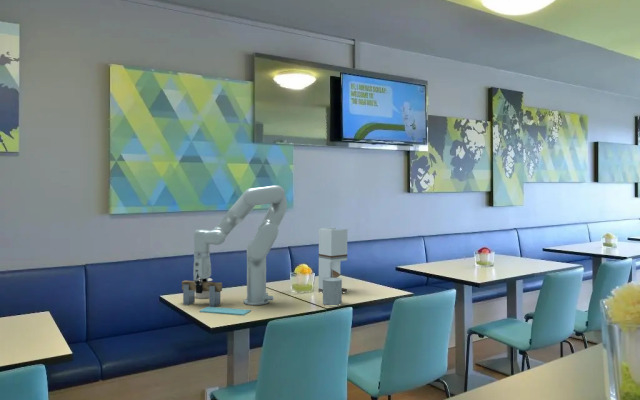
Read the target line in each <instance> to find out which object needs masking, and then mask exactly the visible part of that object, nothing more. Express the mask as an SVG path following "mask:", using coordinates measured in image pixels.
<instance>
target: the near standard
mask: <svg viewBox="0 0 640 400" xmlns="http://www.w3.org/2000/svg"><path fill="white" fill-rule="evenodd" d="M208 299H209V301H208V304H209V305H208V307H218V306H220V305H221V292H216V286H209V298H208Z"/></svg>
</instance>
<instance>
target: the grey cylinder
mask: <svg viewBox="0 0 640 400" xmlns="http://www.w3.org/2000/svg"><path fill="white" fill-rule="evenodd" d="M342 288H343V279H342V278H339V277H337V278H324V279H323V293H322V305H323V304H325V305H339V304H341V303H342V304H343V301H342V298H343V297H342V295H343V294H342ZM325 305H324V306H325Z"/></svg>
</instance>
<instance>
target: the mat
mask: <svg viewBox="0 0 640 400" xmlns="http://www.w3.org/2000/svg"><path fill="white" fill-rule="evenodd" d="M251 311H252V310H251V309H245V308H244V309H242V308H230V307H228V308H227V307H218V306H216V307H209V306H206V307H204V308H202V309H200V310H199V312H198V313H208V314H220V315H232V316H233V315H235V316H246V315H247V314H249V313H250V312H251Z"/></svg>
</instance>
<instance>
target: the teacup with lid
mask: <svg viewBox="0 0 640 400" xmlns="http://www.w3.org/2000/svg"><path fill="white" fill-rule="evenodd" d="M199 279H200V278H199ZM199 281H200V280H199ZM208 282H214V280H213V279H212V278H210V277H209V279H208ZM195 298H196V299H199V298H200V299H203V300H204V299H209V292H208V291H202V293H196V291H195Z"/></svg>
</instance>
